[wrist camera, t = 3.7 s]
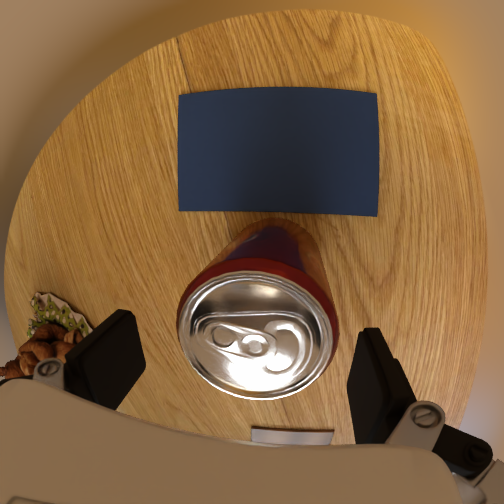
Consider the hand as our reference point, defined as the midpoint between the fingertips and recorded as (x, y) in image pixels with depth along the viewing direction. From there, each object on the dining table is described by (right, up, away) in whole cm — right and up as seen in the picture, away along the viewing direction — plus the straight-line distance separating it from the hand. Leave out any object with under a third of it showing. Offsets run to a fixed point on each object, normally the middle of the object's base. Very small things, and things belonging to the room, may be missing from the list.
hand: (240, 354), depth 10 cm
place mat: (+2, +12, +10) cm, 15 cm away
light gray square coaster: (+5, -22, +18) cm, 29 cm away
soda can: (+2, +3, +12) cm, 13 cm away
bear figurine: (-24, -8, +20) cm, 32 cm away
